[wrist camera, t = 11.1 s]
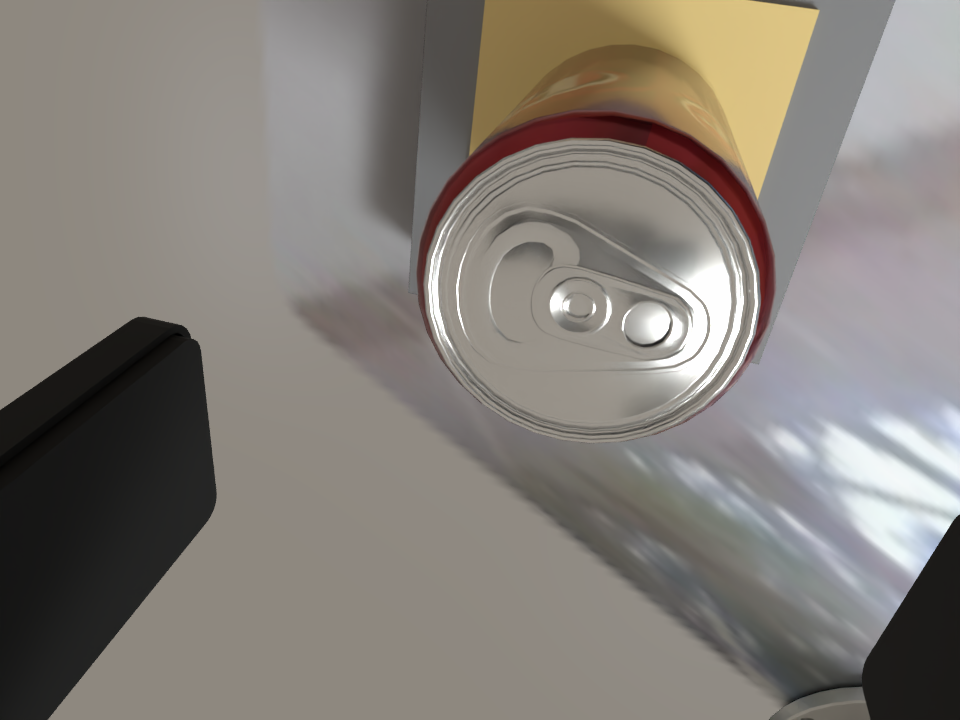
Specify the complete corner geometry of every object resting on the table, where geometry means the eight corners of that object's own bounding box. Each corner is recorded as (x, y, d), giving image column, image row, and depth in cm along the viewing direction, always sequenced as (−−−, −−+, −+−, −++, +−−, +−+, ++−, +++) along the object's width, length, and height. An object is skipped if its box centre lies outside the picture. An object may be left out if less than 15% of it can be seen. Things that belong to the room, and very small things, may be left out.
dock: (748, 318, 30) (759, 368, 27) (435, 256, 32) (405, 295, 28) (880, -59, 23) (921, -60, 19) (465, -110, 25) (432, -121, 21)
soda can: (488, 221, 26) (377, 392, 16) (547, 11, 22) (451, 62, 12) (676, 284, 26) (685, 500, 16) (769, 81, 22) (862, 196, 12)
